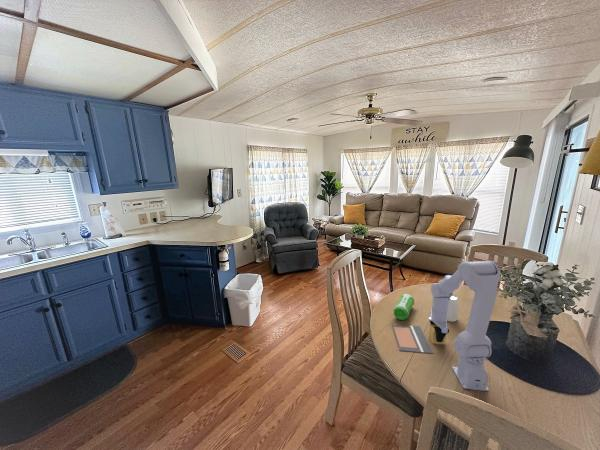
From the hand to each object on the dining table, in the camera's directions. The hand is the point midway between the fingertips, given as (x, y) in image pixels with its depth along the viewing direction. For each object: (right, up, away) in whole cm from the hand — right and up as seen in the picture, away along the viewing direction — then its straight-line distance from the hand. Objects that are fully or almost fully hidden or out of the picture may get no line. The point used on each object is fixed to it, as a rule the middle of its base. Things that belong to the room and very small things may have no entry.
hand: (436, 337), depth 109 cm
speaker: (-5, +3, +22) cm, 23 cm away
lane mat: (-11, -1, +2) cm, 11 cm away
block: (0, -1, 0) cm, 2 cm away
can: (+15, +2, +16) cm, 22 cm away
